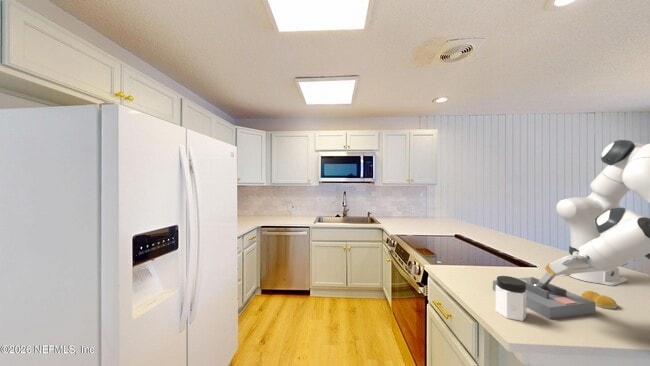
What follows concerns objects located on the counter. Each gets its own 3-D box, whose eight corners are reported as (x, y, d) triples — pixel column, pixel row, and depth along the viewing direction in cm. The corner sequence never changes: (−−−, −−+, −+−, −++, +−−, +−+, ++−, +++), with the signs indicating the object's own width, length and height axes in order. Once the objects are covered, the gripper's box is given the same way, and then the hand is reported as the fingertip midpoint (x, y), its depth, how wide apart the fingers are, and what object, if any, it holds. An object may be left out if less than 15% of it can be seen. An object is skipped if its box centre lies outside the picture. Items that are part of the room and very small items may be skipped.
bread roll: (610, 312, 85) (610, 300, 85) (577, 300, 94) (577, 290, 94) (621, 307, 88) (621, 296, 88) (588, 296, 96) (588, 286, 96)
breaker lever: (539, 284, 95) (559, 262, 88) (546, 292, 93) (567, 270, 86) (528, 285, 94) (548, 263, 88) (535, 293, 92) (556, 270, 85)
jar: (499, 317, 81) (499, 282, 81) (492, 305, 89) (492, 274, 89) (531, 323, 78) (531, 287, 78) (521, 310, 86) (521, 277, 86)
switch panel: (531, 286, 106) (531, 271, 105) (595, 313, 84) (595, 295, 84) (492, 289, 102) (493, 274, 102) (549, 319, 80) (549, 300, 80)
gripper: (582, 267, 71) (545, 285, 80) (633, 263, 74) (592, 280, 84) (564, 248, 75) (532, 267, 85) (613, 245, 79) (577, 263, 88)
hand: (562, 274), depth 84 cm, fingers closed
